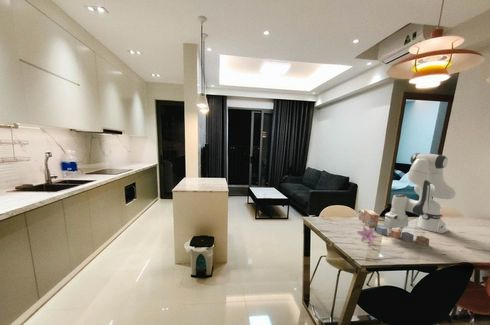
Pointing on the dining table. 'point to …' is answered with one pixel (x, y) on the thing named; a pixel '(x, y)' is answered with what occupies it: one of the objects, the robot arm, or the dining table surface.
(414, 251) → the dining table surface
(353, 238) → the dining table surface
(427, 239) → the walnut cube
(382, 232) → the slate blue cube
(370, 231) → the lily
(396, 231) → the terracotta cube
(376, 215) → the stack of blocks
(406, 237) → the charcoal cube
